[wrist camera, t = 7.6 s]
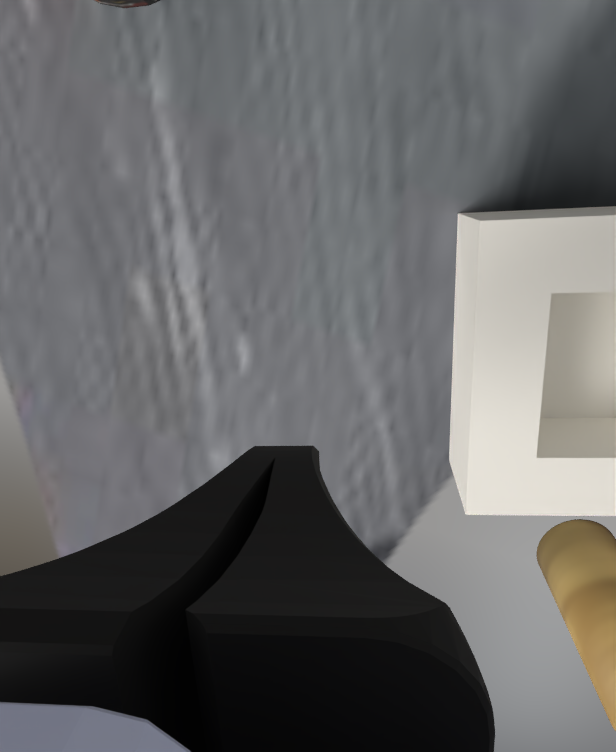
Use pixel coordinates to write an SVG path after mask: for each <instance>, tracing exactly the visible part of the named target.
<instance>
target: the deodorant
mask: <svg viewBox="0 0 616 752" xmlns="http://www.w3.org/2000/svg"><path fill="white" fill-rule="evenodd" d="M95 1H96V2H98V3H100V4H105V5H110V6H116V7H121V8H130V7H139V6H147V5H151V4H153V3H155V2H157V1H159V0H95Z"/></svg>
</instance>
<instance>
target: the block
mask: <svg viewBox="0 0 616 752" xmlns="http://www.w3.org/2000/svg"><path fill="white" fill-rule="evenodd" d="M449 461H450V464H451V468H452V471H453V474H454V478H455V481H456V484H457V487H458V491H459V494H460V497H461V500H462V504H463V507H464V510H465V514H466V515H547V516H616V206H610V207H587V208H564V209H542V210H519V211H496V212H474V213H458V228H457V256H456V284H455V312H454V340H453V368H452V395H451V423H450V451H449Z"/></svg>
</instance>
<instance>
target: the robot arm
mask: <svg viewBox="0 0 616 752" xmlns="http://www.w3.org/2000/svg"><path fill="white" fill-rule="evenodd" d="M494 739H495V727H494V717H493V710H492V705H491V701H490V698H489V694H488V691H487V688H486V685H485V683H484V680H483V677H482V675H481V672H480V670H479V667H478V665H477V662H476V660H475V658H474V655H473V653H472V651H471V648H470V646H469V644H468V642H467V640H466V638H465V636H464V634H463V632H462V630H461V628H460V626H459V624H458V622H457V620H456V618H455V617H454V615H453V613H452V611H451V610H450V608H449V607H448V605H447V604H446V603H444V602H442V601H441V600H439V599H437V598H435V597H434V596H432V595H430V594H428V593H427V592H425V591H423V590H421V589H419V588H418V587H416V586H414V585H413V584H411V583H409V582H408V581H406V580H405V579H403V578H402V577H400V576H399V575H398V574H396V573H395V572H394V571H392V570H391V569H390V568H388V567H387V566H386V565H385V564H384V563H383V562H381V561H380V560H379V559H378V558H377V557H376V556H375V555H374V554H373V553H372V552H371V551H370V550H369V549H368V548H367V547H366V546H365V545H364V544H363V543H362V541H361V540H360V539H359V538H358V537H357V536H356V534H355V533H354V532H353V531H352V529H351V528H350V527H349V525H348V524H347V522H346V521H345V520H344V518H343V517H342V515H341V513H340V512H339V510H338V508H337V507H336V505H335V503H334V502H333V500H332V498H331V496H330V494H329V492H328V489H327V487H326V485H325V483H324V480H323V478H322V475H321V472H320V465H319V451H318V450H317V449H316V448H315V447H314V446H255V447H253V448H251V449H250V450H248V451H247V452H246V453H244V454H243V455H242V456H240V457H239V458H238V459H236V460H235V461H234V462H233V463H231V464H230V465H229V466H228V467H226V468H225V469H224V470H222V471H221V472H220V473H218V474H217V475H216V476H214V477H213V478H212V479H210V480H209V481H208V482H206V483H205V484H204V485H202V486H201V487H199V488H198V489H196V490H195V491H193V492H192V493H190V494H189V495H187V496H186V497H184V498H183V499H181V500H180V501H178V502H177V503H175V504H174V505H172V506H171V507H169V508H168V509H166V510H164V511H162V512H161V513H159V514H157V515H156V516H154V517H152V518H150V519H148V520H146V521H144V522H142V523H141V524H139V525H137V526H135V527H133V528H131V529H129V530H127V531H125V532H123V533H120V534H118V535H116V536H113V537H111V538H109V539H106V540H104V541H102V542H99V543H97V544H95V545H92V546H90V547H88V548H85V549H83V550H81V551H78V552H75V553H73V554H70V555H67V556H64V557H61V558H59V559H56V560H53V561H50V562H47V563H44V564H41V565H38V566H34V567H31V568H28V569H25V570H21V571H18V572H15V573H11V574H7V575H3V576H0V752H494Z"/></svg>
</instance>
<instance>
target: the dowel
mask: <svg viewBox="0 0 616 752" xmlns="http://www.w3.org/2000/svg"><path fill="white" fill-rule="evenodd" d="M537 561H538V564H539V566H540V568H541V570H542V573H543V575H544V577H545V579H546V581H547V584H548V586H549V588H550V590H551V592H552V595H553V597H554V599H555V601H556V603H557V606H558V608H559V610H560V612H561V615H562V617H563V619H564V621H565V623H566V626H567V628H568V630H569V632H570V634H571V636H572V639H573V641H574V643H575V645H576V648H577V650H578V652H579V654H580V656H581V659H582V661H583V663H584V665H585V667H586V670H587V672H588V674H589V676H590V678H591V681H592V683H593V685H594V687H595V689H596V692H597V694H598V696H599V698H600V700H601V703H602V705H603V707H604V709H605V711H606V714H607V716H608V718H609V720H610V722H611V724H612V726H613V728H614V729H615V731H616V539H615V537H614V536H613V535H612V533H611V532H610V531H609V530H608V529H607V528H606V527H604V526H603V525H601V524H599V523H597V522H594V521H590V520H581V519H579V520H570V521H566V522H563V523H561V524H558V525H556V526H555V527H553V528H551V529H550V530H549V531H548V532H547V533H546V534H545V535H544V536H543V537H542V539H541V541H540V543H539V545H538V548H537Z"/></svg>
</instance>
